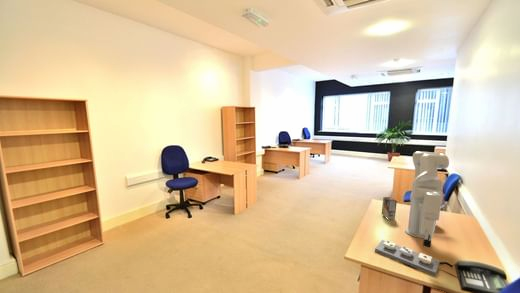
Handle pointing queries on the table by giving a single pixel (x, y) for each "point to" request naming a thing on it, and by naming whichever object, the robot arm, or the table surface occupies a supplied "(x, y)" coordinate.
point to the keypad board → (408, 259)
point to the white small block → (406, 251)
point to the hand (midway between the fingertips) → (426, 246)
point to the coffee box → (389, 207)
